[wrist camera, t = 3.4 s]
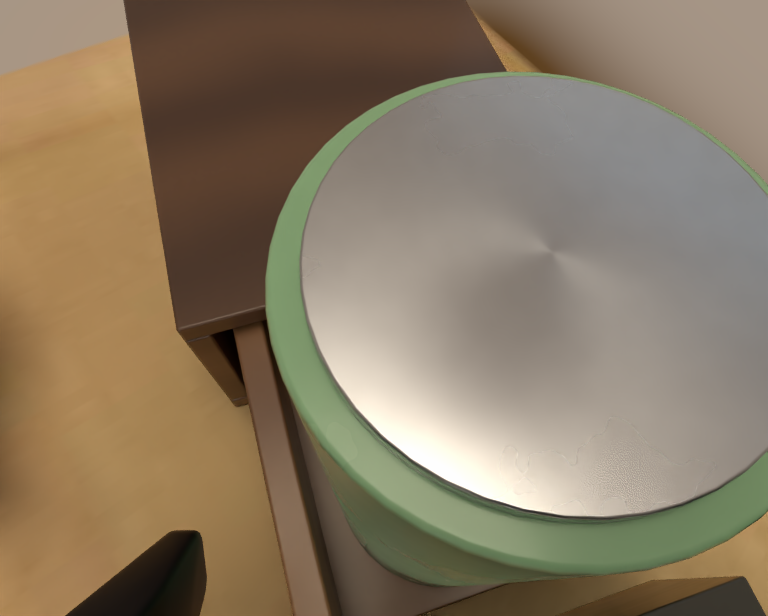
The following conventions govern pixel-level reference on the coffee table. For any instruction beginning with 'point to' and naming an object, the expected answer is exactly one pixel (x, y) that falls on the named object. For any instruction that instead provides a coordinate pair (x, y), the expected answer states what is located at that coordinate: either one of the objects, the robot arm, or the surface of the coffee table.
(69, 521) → the coffee table surface
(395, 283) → the can
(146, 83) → the cabinet
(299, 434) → the drawer
